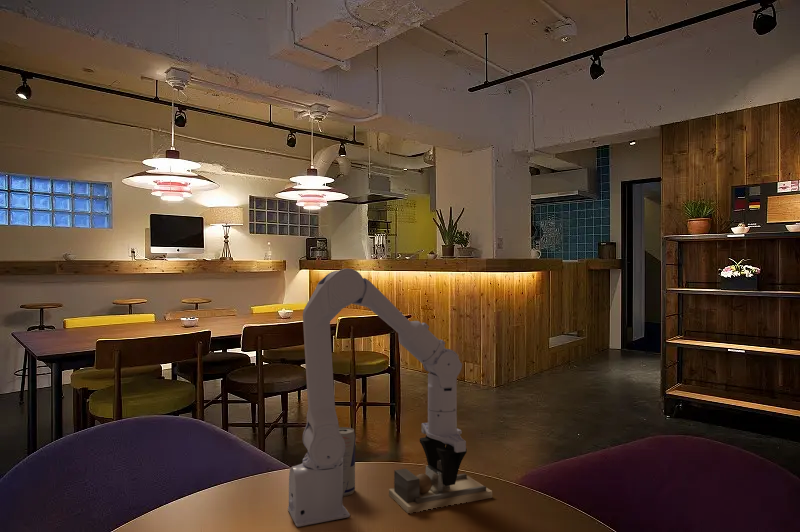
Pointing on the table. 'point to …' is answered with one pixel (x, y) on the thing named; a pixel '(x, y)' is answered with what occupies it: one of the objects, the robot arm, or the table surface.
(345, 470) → the energy drink
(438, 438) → the robot arm
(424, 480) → the walnut
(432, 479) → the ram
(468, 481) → the press base
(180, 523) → the table surface
